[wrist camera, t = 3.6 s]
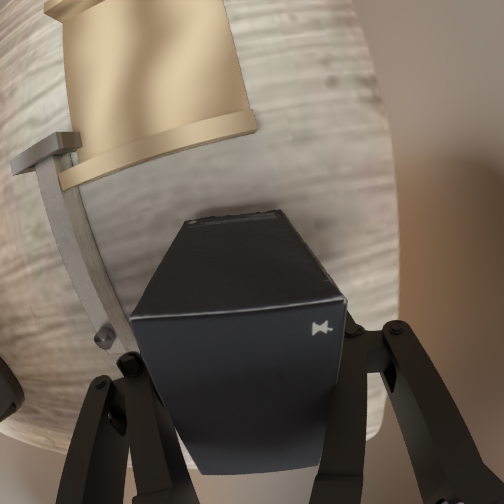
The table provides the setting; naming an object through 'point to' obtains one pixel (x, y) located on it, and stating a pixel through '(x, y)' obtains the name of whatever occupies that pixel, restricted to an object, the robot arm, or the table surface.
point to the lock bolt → (82, 256)
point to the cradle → (142, 84)
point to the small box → (243, 343)
